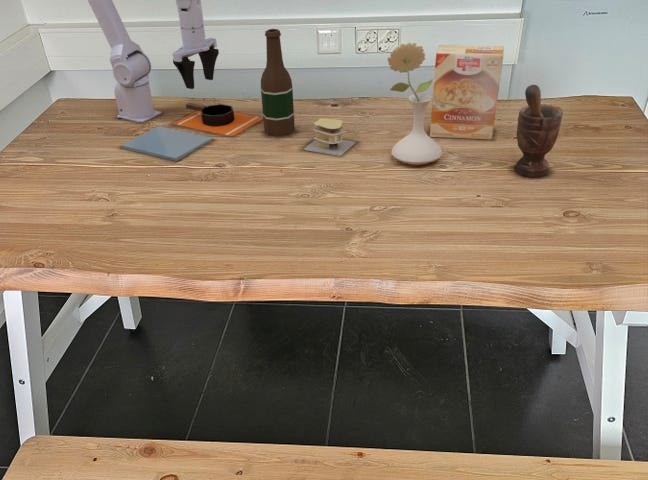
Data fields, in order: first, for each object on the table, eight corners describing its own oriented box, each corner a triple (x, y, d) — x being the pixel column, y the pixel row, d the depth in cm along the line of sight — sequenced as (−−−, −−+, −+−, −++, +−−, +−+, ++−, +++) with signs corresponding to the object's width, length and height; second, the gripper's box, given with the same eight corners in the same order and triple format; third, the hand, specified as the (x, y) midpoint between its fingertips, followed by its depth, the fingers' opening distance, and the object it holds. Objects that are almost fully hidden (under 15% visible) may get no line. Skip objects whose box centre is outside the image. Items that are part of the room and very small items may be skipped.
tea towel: (172, 124, 181) (172, 123, 180) (205, 107, 190) (205, 106, 189) (232, 137, 172) (232, 136, 172) (264, 119, 181) (264, 117, 180)
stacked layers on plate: (302, 149, 163) (301, 127, 160) (319, 136, 170) (318, 114, 166) (340, 156, 160) (340, 133, 156) (356, 142, 166) (356, 119, 162)
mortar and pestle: (549, 187, 142) (568, 89, 130) (507, 183, 145) (521, 86, 132) (552, 164, 151) (570, 70, 138) (512, 161, 153) (526, 68, 140)
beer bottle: (296, 126, 175) (291, 25, 160) (293, 138, 170) (287, 34, 154) (266, 126, 176) (258, 26, 161) (262, 138, 170) (253, 35, 155)
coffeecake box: (429, 137, 166) (435, 52, 153) (431, 126, 171) (438, 43, 159) (492, 140, 163) (503, 54, 150) (493, 129, 168) (504, 45, 156)
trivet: (121, 148, 170) (120, 145, 169) (159, 129, 179) (158, 126, 178) (176, 161, 162) (175, 158, 161) (213, 140, 171) (212, 137, 170)
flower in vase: (444, 150, 159) (454, 35, 143) (438, 171, 151) (448, 51, 135) (388, 147, 162) (392, 34, 146) (380, 167, 154) (382, 49, 138)
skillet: (240, 117, 181) (239, 106, 179) (220, 128, 176) (219, 116, 174) (199, 109, 188) (197, 98, 186) (179, 119, 182) (177, 108, 180)
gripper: (185, 35, 160) (193, 94, 168) (223, 20, 169) (229, 77, 177) (162, 32, 163) (172, 90, 171) (201, 18, 172) (208, 74, 181)
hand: (199, 83), depth 175 cm, fingers open, 7 cm apart
